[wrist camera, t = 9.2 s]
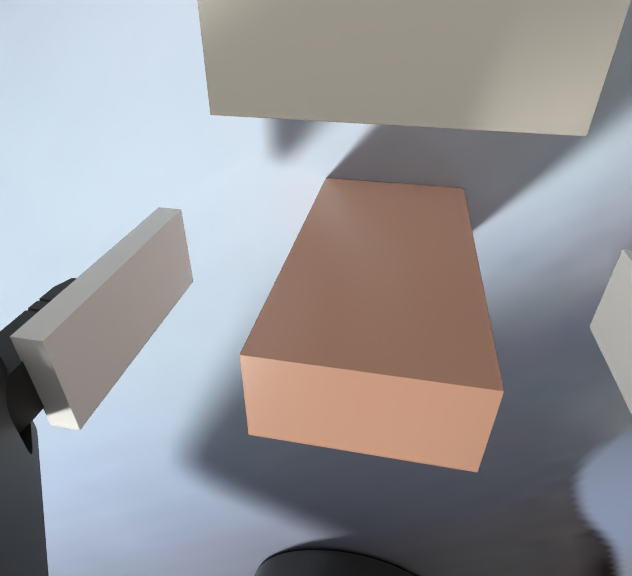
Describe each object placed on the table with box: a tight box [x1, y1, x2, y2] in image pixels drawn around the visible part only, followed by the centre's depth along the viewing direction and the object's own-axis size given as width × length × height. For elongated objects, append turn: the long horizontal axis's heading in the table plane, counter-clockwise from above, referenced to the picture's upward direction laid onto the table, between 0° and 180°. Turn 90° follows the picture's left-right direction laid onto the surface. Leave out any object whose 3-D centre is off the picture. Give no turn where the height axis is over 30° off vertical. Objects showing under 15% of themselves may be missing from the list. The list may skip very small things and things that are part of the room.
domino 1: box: [197, 0, 631, 136], centre depth 10 cm, size 2×5×10 cm, turn 89°
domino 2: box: [240, 178, 504, 472], centre depth 13 cm, size 2×5×10 cm, turn 90°
